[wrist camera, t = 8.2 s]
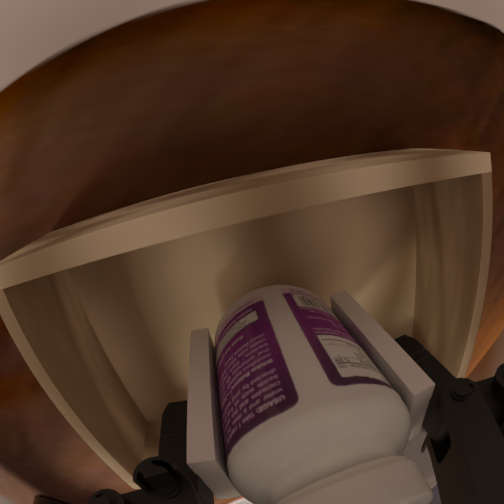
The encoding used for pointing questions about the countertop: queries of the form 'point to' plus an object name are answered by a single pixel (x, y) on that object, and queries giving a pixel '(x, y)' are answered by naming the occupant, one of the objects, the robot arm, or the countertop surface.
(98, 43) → the countertop surface
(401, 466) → the pill bottle
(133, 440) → the caddy
